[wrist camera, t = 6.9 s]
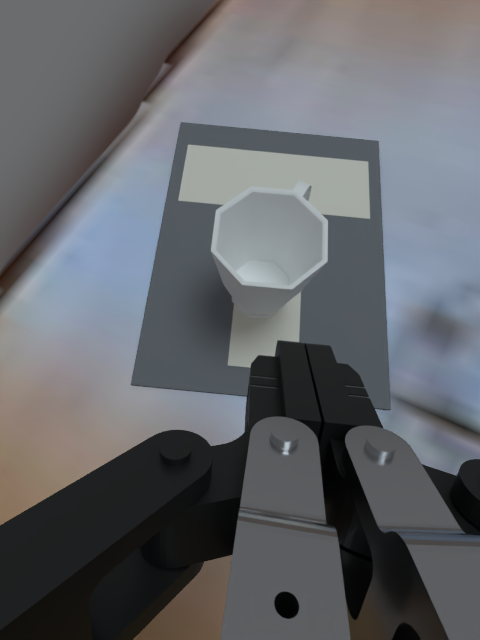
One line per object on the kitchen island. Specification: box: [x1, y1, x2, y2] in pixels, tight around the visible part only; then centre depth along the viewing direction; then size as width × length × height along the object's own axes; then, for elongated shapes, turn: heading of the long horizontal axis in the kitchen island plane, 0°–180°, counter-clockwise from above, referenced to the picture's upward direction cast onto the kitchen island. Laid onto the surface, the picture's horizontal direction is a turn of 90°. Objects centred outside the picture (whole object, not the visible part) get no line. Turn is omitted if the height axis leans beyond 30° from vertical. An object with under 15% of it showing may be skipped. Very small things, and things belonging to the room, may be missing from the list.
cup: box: [211, 180, 328, 319], centre depth 26 cm, size 7×10×8 cm
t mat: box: [131, 122, 391, 410], centre depth 31 cm, size 24×18×1 cm
